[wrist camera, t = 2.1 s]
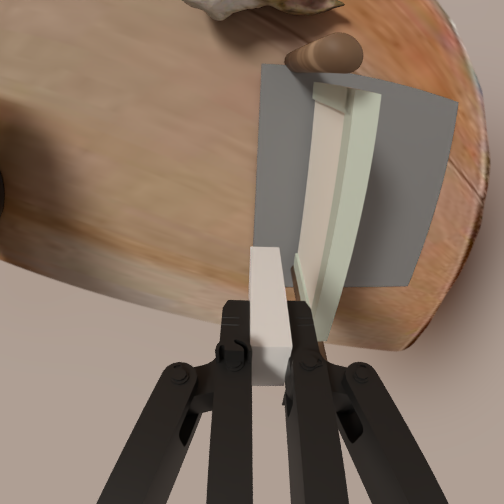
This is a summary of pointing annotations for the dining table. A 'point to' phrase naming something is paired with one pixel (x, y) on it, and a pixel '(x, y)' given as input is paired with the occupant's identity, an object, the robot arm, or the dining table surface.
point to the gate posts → (325, 61)
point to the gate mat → (380, 178)
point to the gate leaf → (334, 195)
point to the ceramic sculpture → (297, 3)
